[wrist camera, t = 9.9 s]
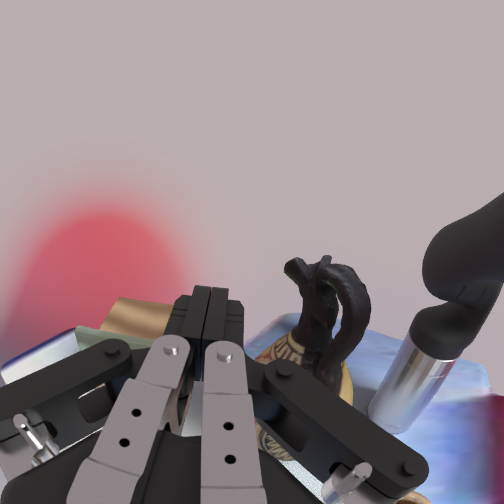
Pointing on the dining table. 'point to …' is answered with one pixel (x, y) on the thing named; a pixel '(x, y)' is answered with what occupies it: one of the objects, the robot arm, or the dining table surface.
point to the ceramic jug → (321, 331)
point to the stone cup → (414, 499)
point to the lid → (128, 324)
